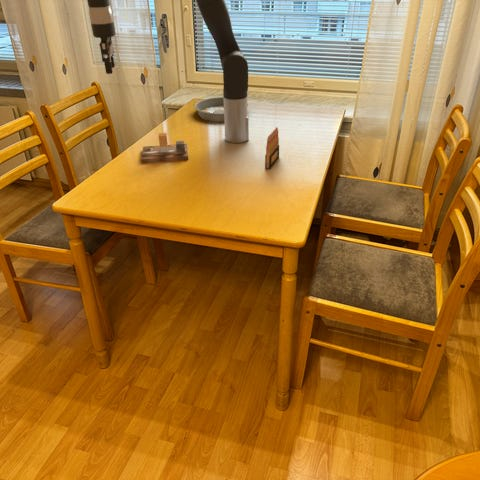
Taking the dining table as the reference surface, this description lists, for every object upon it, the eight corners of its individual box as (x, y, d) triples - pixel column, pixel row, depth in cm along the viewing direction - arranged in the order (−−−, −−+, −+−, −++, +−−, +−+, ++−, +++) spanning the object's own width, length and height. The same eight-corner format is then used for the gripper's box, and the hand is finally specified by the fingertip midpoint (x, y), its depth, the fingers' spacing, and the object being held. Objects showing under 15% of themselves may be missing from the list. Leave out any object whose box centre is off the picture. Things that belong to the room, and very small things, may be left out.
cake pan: (258, 110, 214) (258, 101, 211) (229, 127, 197) (228, 116, 194) (215, 102, 225) (214, 93, 222) (184, 117, 208) (183, 107, 205)
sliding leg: (168, 146, 174) (166, 129, 171) (168, 154, 169) (166, 135, 165) (160, 147, 174) (158, 129, 170) (160, 154, 168) (158, 136, 165)
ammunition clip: (269, 169, 161) (270, 137, 154) (264, 168, 161) (265, 136, 155) (279, 157, 169) (280, 126, 162) (274, 157, 170) (275, 125, 163)
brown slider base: (187, 147, 179) (186, 133, 176) (188, 159, 169) (187, 145, 166) (143, 150, 177) (141, 136, 174) (141, 163, 167) (139, 149, 164)
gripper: (111, 24, 149) (119, 75, 158) (115, 17, 161) (122, 65, 170) (87, 25, 149) (97, 76, 158) (93, 18, 160) (102, 66, 169)
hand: (110, 70), depth 164 cm, fingers open, 8 cm apart
